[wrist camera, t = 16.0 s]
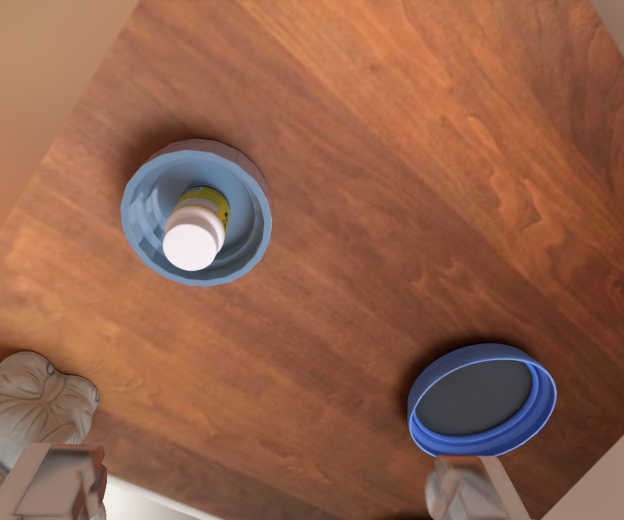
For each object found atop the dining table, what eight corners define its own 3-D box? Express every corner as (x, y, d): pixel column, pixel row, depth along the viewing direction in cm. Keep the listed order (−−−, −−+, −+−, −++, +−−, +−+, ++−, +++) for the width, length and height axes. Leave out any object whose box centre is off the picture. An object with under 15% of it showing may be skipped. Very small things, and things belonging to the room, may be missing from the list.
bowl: (406, 343, 50) (415, 364, 47) (555, 331, 50) (574, 351, 47) (397, 445, 58) (404, 469, 55) (524, 433, 59) (538, 456, 56)
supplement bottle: (221, 237, 41) (209, 284, 33) (172, 220, 39) (149, 264, 32) (238, 194, 39) (230, 233, 31) (188, 174, 38) (166, 210, 30)
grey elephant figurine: (141, 433, 54) (82, 613, 37) (21, 450, 53) (-92, 638, 37) (95, 331, 45) (-7, 503, 29) (-46, 349, 45) (-229, 533, 29)
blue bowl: (132, 128, 36) (115, 141, 32) (278, 146, 38) (278, 160, 34) (139, 256, 42) (125, 280, 38) (265, 267, 43) (264, 291, 39)
